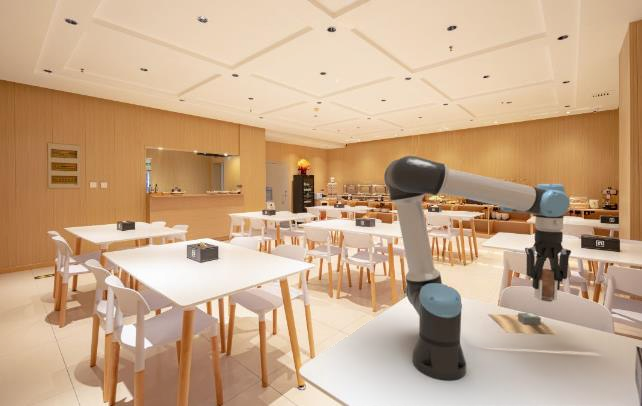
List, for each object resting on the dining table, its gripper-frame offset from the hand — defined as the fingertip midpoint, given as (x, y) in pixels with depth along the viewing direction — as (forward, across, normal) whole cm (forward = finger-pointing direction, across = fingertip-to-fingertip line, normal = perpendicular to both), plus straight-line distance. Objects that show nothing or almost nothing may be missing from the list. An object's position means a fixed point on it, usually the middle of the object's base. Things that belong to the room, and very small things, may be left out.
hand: (545, 298), depth 103 cm
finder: (+15, +4, +15) cm, 22 cm away
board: (+16, 0, +14) cm, 22 cm away
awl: (0, 0, 0) cm, 0 cm away
